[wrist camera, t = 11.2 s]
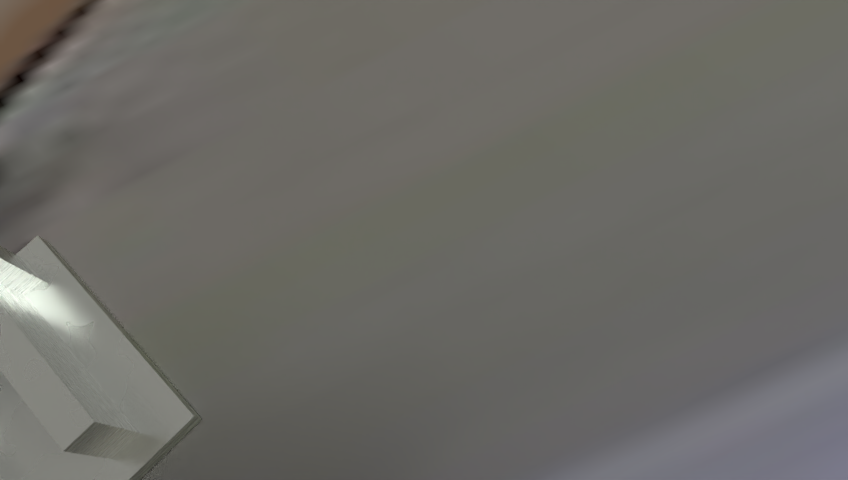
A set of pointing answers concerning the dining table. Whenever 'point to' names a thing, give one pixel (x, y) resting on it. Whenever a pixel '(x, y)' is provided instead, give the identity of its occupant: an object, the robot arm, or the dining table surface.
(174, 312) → the dining table surface
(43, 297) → the offcut rack
